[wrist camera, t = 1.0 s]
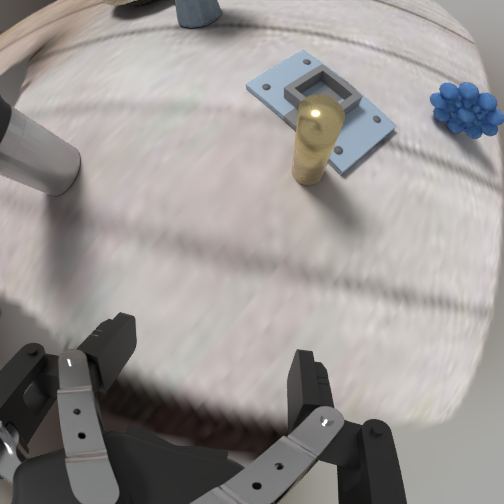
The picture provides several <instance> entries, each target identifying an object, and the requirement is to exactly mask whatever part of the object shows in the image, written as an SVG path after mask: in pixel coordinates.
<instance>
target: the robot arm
mask: <svg viewBox="0 0 504 504" xmlns="http://www.w3.org/2000/svg"><path fill="white" fill-rule="evenodd" d="M79 166H80V155H79V152H78V150H77V149H76V148H75V147H73V146H72V145H70V144H69V143H67V142H65V141H64V140H62V139H61V138H59V137H58V136H56V135H55V134H53V133H52V132H50V131H49V130H47V129H46V128H44V127H43V126H41V125H40V124H38V123H37V122H35V121H33V120H32V119H30V118H29V117H27V116H26V115H24V114H23V113H21V112H20V111H18V110H17V109H15V108H14V107H12V106H10V105H9V104H8V103H6V102H5V101H4V100H3V99H2V97H1V96H0V175H2V176H5V177H7V178H10V179H12V180H14V181H17V182H19V183H22V184H24V185H27V186H30V187H32V188H35V189H37V190H40V191H42V192H45V193H47V194H50V195H53V196H57V195H60V194H62V193H64V192H65V191H66V190H67V189H68V188H69V187H70V186H71V184H72V183H73V181H74V180H75V178H76V176H77V173H78V170H79ZM136 343H137V339H136V323H135V317H134V316H132V315H128V314H125V313H121V312H120V313H119V314H118V315H117V316H116V317H115V318H114V319H113V320H111V319H108V320H106V321H104V322H102V323H101V324H100V325H99V326H98V327H97V328H96V330H94V331H93V332H92V333H91V334H90V335H89V336H88V337H87V338H86V339H85V341H84V342H83V343H82V344H81V345H80V346H79V347H78V348H77V349H70V350H66V351H64V352H63V353H61V355H60V356H56V355H50V354H46V353H45V350H44V347H43V346H42V345H40V344H38V343H30V344H27V345H25V346H24V347H22V348H21V349H20V351H18V352H17V353H16V354H15V355H14V357H13V358H12V359H11V360H10V361H9V362H8V363H7V364H6V365H5V366H4V367H3V368H2V369H1V370H0V479H5V480H6V481H8V482H9V483H10V484H12V485H13V497H12V504H278V503H279V502H280V501H281V500H282V499H283V498H284V497H285V496H286V495H287V494H288V493H289V492H290V491H291V490H292V489H293V488H294V487H295V486H296V484H297V483H298V482H299V481H300V480H301V479H302V478H303V477H304V476H305V475H306V474H307V473H308V472H309V471H310V469H311V468H312V467H313V466H314V465H315V464H316V463H317V462H318V460H320V461H324V462H327V463H331V464H334V465H337V475H338V497H339V498H338V499H339V504H407V502H406V497H405V490H404V485H403V480H402V475H401V470H400V466H399V461H398V457H397V453H396V448H395V444H394V441H393V436H392V432H391V429H390V427H389V426H388V425H387V424H386V423H385V422H383V421H381V420H377V419H371V420H367V421H366V422H365V423H364V424H363V425H360V424H356V423H352V422H349V421H346V420H344V417H343V415H342V414H341V413H340V412H339V411H338V410H337V409H335V408H334V404H333V399H332V393H331V388H330V385H329V384H330V383H329V379H328V373H327V369H326V368H325V367H324V366H323V364H322V363H321V362H314V356H313V352H312V351H307V350H299V349H297V350H296V353H295V356H294V359H293V362H292V365H291V368H290V371H289V374H288V379H287V399H288V436H286V435H285V436H283V437H282V438H280V439H279V440H278V441H277V442H276V443H275V444H274V445H272V446H271V447H270V448H269V449H268V450H267V451H265V452H264V453H263V454H262V455H261V456H259V457H258V458H257V459H256V460H254V461H253V462H252V463H251V464H250V465H248V466H247V467H246V468H245V467H244V466H242V465H241V464H239V463H237V462H235V461H233V460H231V459H229V458H227V456H228V451H222V450H217V449H212V448H207V447H197V446H176V445H173V444H171V443H169V442H167V441H165V440H163V439H162V438H160V437H158V436H156V435H154V434H153V433H150V432H147V431H144V430H141V429H138V428H135V427H132V426H130V425H129V426H128V428H127V430H126V431H109V432H106V429H105V426H104V422H103V419H102V415H101V411H100V407H99V403H98V398H97V395H96V393H97V391H100V392H103V393H105V394H106V393H107V391H108V390H109V388H110V387H111V385H112V384H113V382H114V381H115V379H116V378H117V376H118V375H119V373H120V372H121V370H122V369H123V367H124V366H125V364H126V363H127V361H128V360H129V358H130V357H131V355H132V354H133V352H134V351H135V348H136ZM30 384H31V385H32V386H31V387H30V388H29V389H28V391H27V392H26V394H25V395H24V396H23V394H24V391H25V390H26V389H27V387H28V386H29V385H30ZM57 398H58V407H59V416H60V424H61V430H62V437H63V443H64V448H61V449H58V450H56V451H52V452H49V453H47V454H43V455H40V456H37V457H33V458H30V459H28V455H29V448H28V445H27V444H28V443H29V441H30V439H31V438H32V436H33V434H34V433H35V431H36V430H37V428H38V427H39V425H40V423H41V422H42V420H43V419H44V417H45V416H46V414H47V413H48V411H49V409H50V408H51V406H52V405H53V403H54V402H55V400H56V399H57Z"/></svg>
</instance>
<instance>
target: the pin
mask: <svg viewBox="0 0 504 504" xmlns="http://www.w3.org/2000/svg"><path fill="white" fill-rule="evenodd" d="M344 120H345V113H344V110H343V108H342V106H341V105H340V104H339V103H338V102H337V101H336V100H334V99H333V98H331V97H329V96H325V95H311V96H308V97H306V98H305V99H303V100H302V101H301V103H300V105H299V107H298V117H297V128H296V138H295V148H294V158H293V167H292V174H293V177H294V178H295V180H296V181H297V182H298V183H300V184H302V185H305V186H312V185H315V184H317V183H318V182H319V181H320V180H321V178H322V176H323V174H324V171H325V169H326V166H327V164H328V161H329V159H330V156H331V154H332V151H333V149H334V146H335V144H336V141H337V138H338V136H339V133H340V131H341V128H342V126H343V123H344Z"/></svg>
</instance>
